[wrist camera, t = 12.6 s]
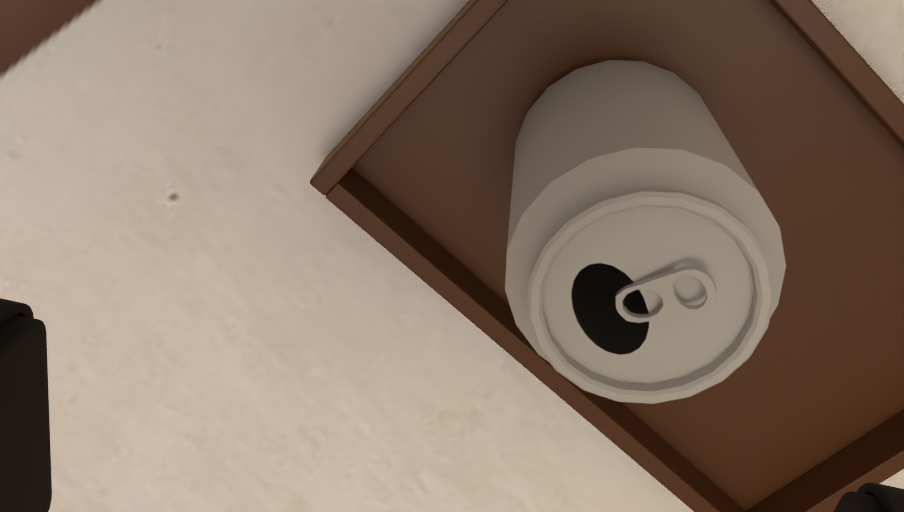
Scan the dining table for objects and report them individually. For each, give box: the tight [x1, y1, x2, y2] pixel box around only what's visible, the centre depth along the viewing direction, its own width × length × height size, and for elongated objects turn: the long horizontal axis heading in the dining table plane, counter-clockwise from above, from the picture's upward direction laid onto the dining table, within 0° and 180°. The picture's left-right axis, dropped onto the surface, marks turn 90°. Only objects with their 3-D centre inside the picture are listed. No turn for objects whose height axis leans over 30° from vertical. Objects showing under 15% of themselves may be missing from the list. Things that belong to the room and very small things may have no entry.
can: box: [505, 60, 786, 404], centre depth 27 cm, size 8×8×12 cm
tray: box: [310, 0, 904, 512], centre depth 33 cm, size 26×17×3 cm, turn 47°
